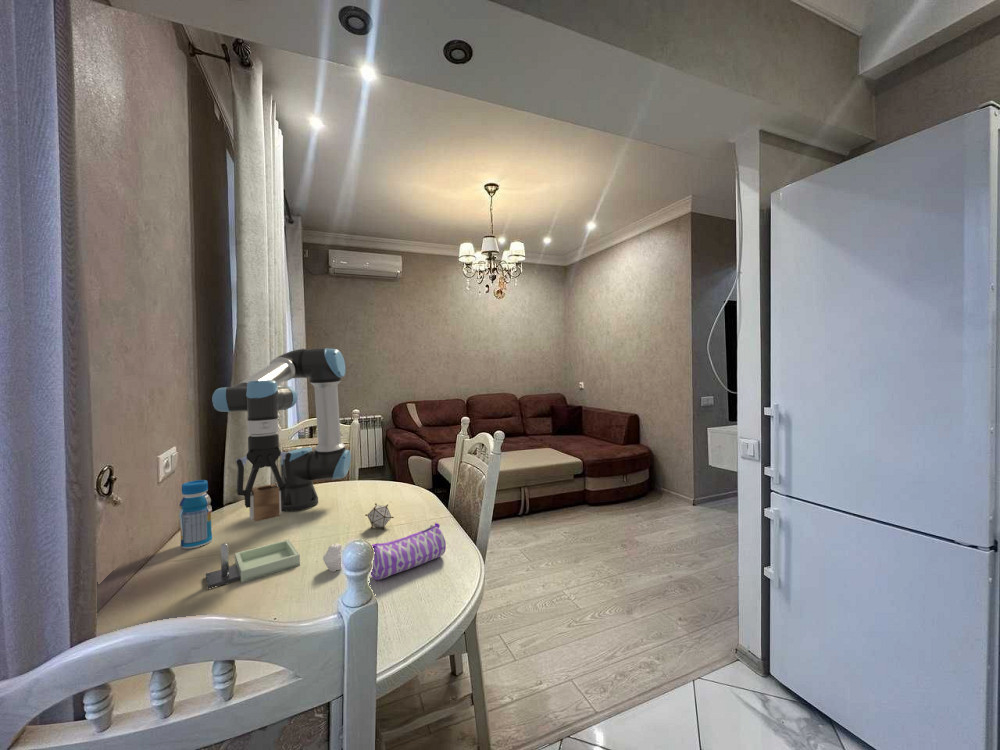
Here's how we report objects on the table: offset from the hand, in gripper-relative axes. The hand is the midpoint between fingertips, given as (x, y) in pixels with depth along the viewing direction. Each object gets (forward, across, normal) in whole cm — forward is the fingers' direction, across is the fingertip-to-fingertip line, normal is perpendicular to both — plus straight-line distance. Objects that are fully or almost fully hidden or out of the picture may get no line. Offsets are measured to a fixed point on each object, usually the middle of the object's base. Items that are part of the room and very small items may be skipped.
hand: (265, 514), depth 113 cm
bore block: (0, 0, 0) cm, 0 cm away
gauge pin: (+14, -10, -1) cm, 17 cm away
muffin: (+14, +14, -16) cm, 26 cm away
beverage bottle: (+14, -15, +32) cm, 38 cm away
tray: (+14, 0, 0) cm, 14 cm away
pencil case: (+15, +30, -28) cm, 44 cm away
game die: (+14, +35, +4) cm, 38 cm away
